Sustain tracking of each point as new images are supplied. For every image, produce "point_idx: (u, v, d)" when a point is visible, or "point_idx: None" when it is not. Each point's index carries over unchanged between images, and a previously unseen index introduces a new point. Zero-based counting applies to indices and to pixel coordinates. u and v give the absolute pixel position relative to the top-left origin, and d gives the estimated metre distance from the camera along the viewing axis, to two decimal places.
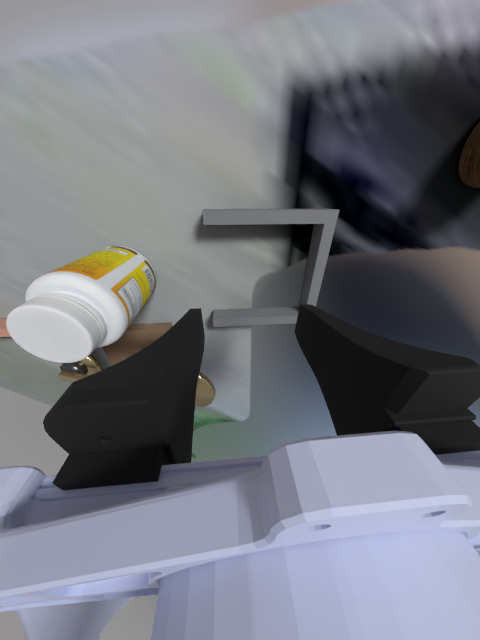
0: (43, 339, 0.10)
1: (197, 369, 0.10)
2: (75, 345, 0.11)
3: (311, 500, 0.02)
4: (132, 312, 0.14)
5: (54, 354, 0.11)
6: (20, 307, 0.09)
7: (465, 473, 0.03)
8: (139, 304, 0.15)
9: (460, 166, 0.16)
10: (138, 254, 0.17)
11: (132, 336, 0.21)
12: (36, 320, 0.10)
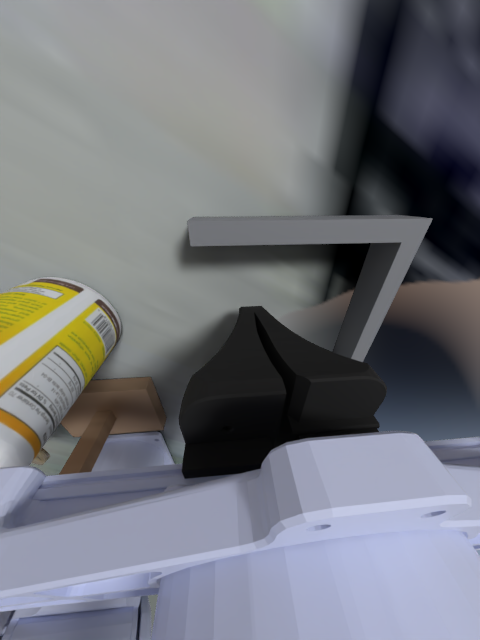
0: None
1: None
2: None
3: (311, 500, 0.02)
4: (50, 421, 0.07)
5: None
6: None
7: (465, 473, 0.03)
8: (74, 390, 0.08)
9: None
10: (85, 291, 0.10)
11: (92, 399, 0.15)
12: None
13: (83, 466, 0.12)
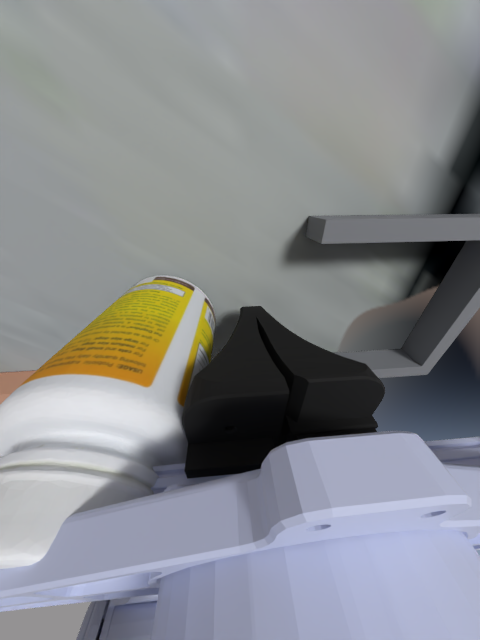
0: None
1: None
2: None
3: (311, 500, 0.02)
4: None
5: None
6: None
7: (465, 473, 0.03)
8: None
9: None
10: (195, 289, 0.10)
11: None
12: None
13: None
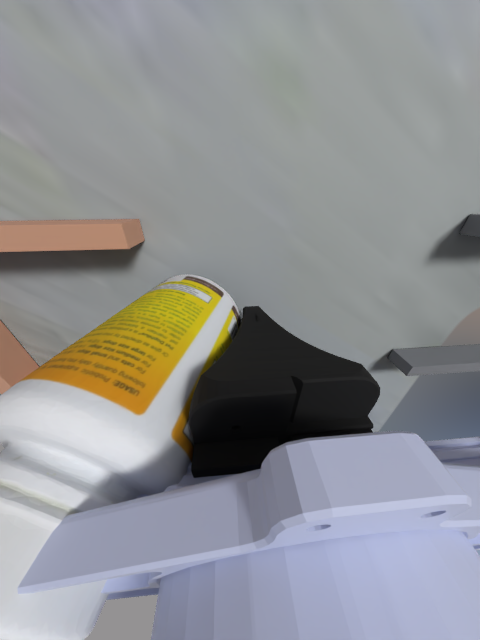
0: None
1: None
2: None
3: (311, 500, 0.02)
4: None
5: None
6: None
7: (465, 473, 0.03)
8: None
9: None
10: (224, 295, 0.10)
11: None
12: None
13: None
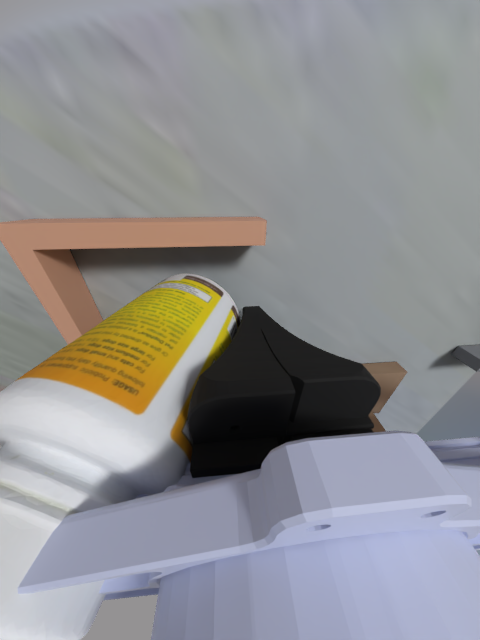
0: None
1: None
2: None
3: (311, 500, 0.02)
4: None
5: None
6: None
7: (465, 473, 0.03)
8: None
9: None
10: (224, 295, 0.10)
11: None
12: None
13: None
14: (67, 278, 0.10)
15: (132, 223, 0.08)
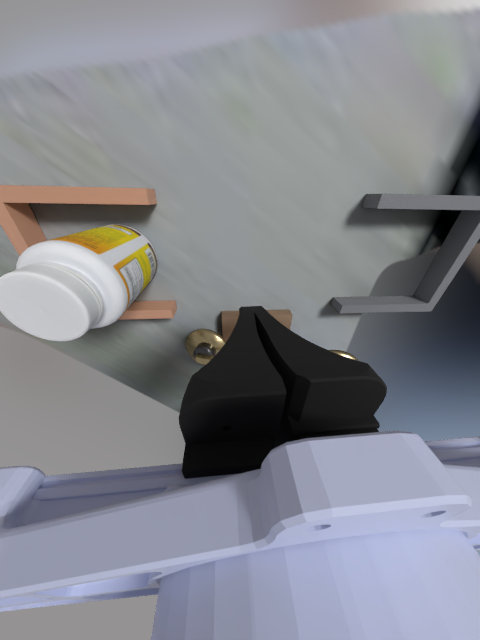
0: (34, 312, 0.09)
1: None
2: (70, 322, 0.10)
3: (311, 500, 0.02)
4: (132, 295, 0.13)
5: (44, 330, 0.10)
6: (12, 273, 0.08)
7: (465, 473, 0.03)
8: (140, 287, 0.14)
9: None
10: (141, 236, 0.16)
11: None
12: (29, 289, 0.09)
13: None
14: (28, 226, 0.15)
15: (62, 187, 0.13)
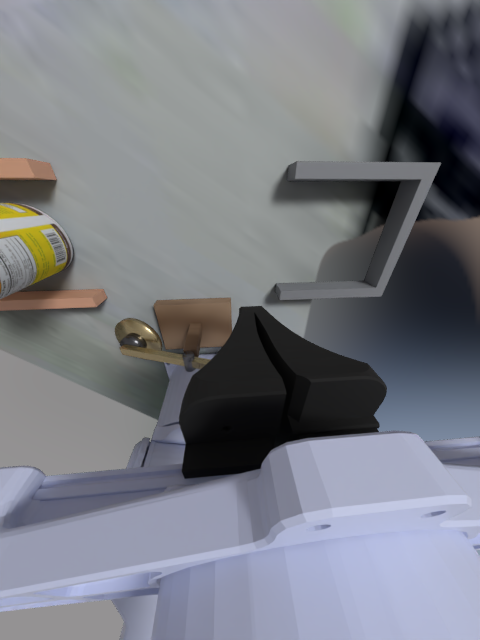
0: None
1: None
2: None
3: (311, 500, 0.02)
4: (8, 275, 0.12)
5: None
6: None
7: (465, 473, 0.03)
8: (27, 268, 0.13)
9: None
10: (43, 215, 0.15)
11: (191, 311, 0.20)
12: None
13: (197, 346, 0.18)
14: None
15: None
